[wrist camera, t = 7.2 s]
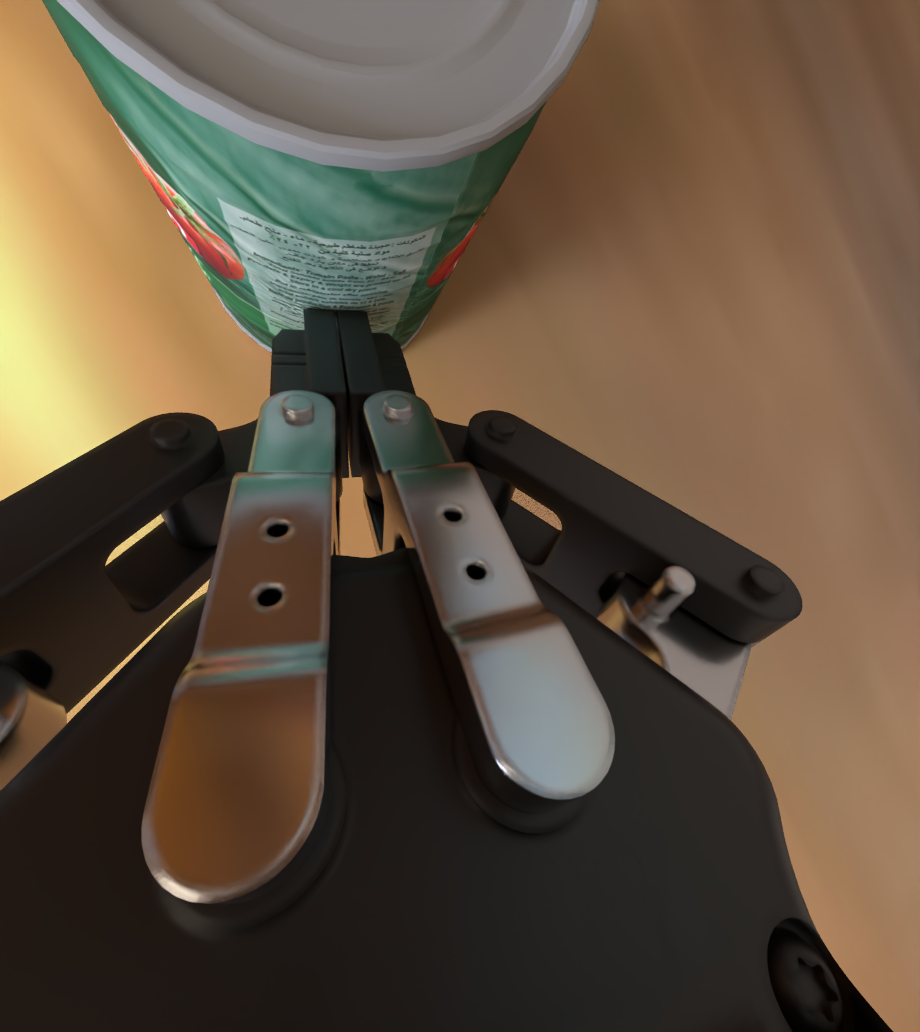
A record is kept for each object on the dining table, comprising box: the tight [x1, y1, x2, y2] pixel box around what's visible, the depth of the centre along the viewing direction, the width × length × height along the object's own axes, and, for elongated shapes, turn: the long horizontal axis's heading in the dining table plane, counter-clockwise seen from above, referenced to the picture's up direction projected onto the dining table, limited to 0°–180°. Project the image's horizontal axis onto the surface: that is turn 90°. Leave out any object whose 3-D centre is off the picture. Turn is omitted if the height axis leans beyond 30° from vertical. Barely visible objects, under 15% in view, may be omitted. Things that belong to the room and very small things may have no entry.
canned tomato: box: [42, 0, 600, 353], centre depth 10 cm, size 8×8×11 cm
